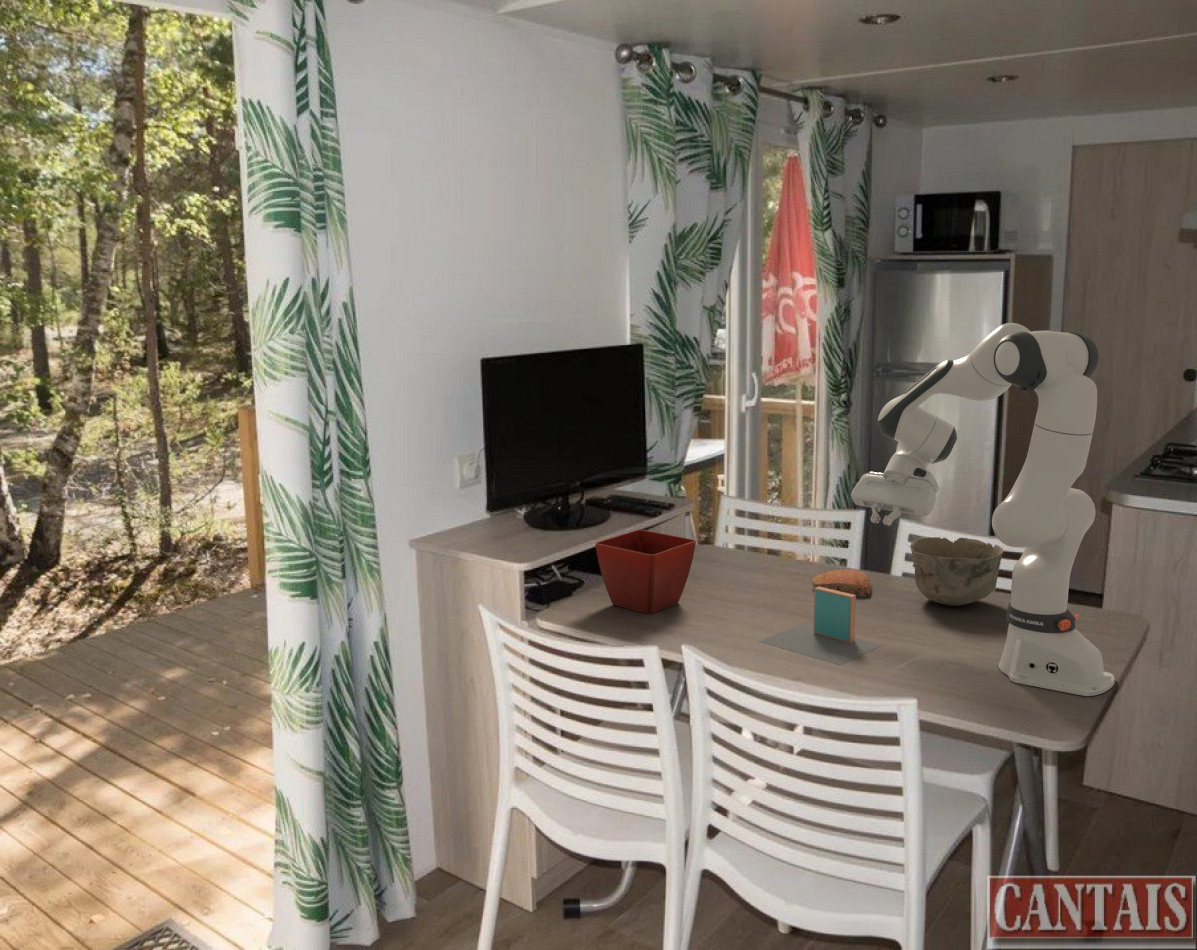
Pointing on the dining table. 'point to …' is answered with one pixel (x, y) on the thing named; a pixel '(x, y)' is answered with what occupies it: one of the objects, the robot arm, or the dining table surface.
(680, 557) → the plant pot
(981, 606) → the dining table surface
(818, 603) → the tile
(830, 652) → the mat
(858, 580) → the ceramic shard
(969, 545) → the bowl
